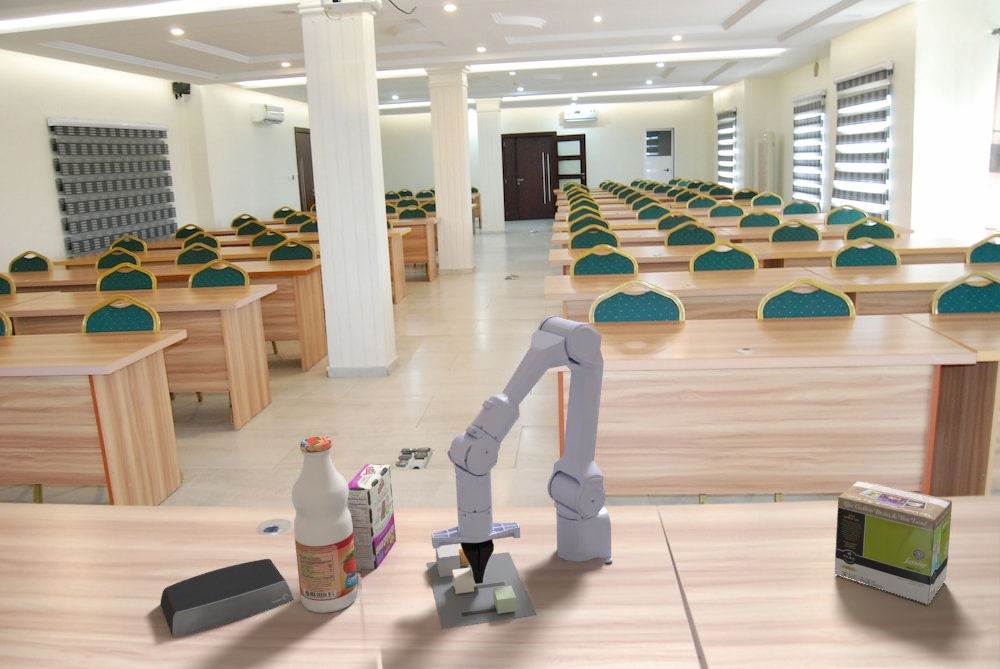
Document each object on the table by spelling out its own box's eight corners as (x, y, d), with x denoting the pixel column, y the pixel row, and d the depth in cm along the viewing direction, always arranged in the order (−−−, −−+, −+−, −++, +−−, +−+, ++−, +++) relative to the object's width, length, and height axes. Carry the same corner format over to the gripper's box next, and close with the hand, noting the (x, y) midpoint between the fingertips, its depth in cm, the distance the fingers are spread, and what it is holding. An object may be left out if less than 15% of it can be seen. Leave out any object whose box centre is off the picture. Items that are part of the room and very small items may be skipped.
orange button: (467, 559, 144) (467, 545, 143) (470, 567, 141) (469, 552, 140) (459, 560, 143) (458, 546, 143) (461, 568, 141) (460, 553, 140)
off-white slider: (470, 580, 137) (469, 567, 136) (473, 591, 133) (473, 578, 133) (452, 582, 136) (452, 569, 136) (455, 593, 133) (455, 580, 132)
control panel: (508, 557, 147) (508, 533, 146) (537, 620, 127) (536, 594, 126) (426, 567, 144) (425, 544, 143) (442, 634, 124) (440, 607, 123)
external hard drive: (295, 604, 135) (293, 582, 134) (173, 643, 125) (169, 619, 124) (274, 572, 146) (272, 551, 145) (159, 605, 136) (156, 583, 135)
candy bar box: (372, 543, 154) (365, 462, 150) (397, 545, 153) (391, 463, 149) (350, 573, 143) (342, 486, 140) (376, 575, 142) (370, 488, 139)
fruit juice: (296, 592, 138) (280, 437, 131) (350, 579, 141) (337, 427, 135) (307, 620, 129) (291, 455, 123) (364, 605, 133) (352, 444, 127)
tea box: (946, 582, 134) (954, 499, 131) (928, 607, 127) (936, 520, 124) (853, 554, 144) (859, 476, 141) (831, 576, 137) (836, 495, 134)
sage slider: (511, 599, 131) (511, 585, 130) (516, 611, 127) (516, 597, 127) (493, 601, 130) (492, 588, 130) (497, 613, 127) (497, 599, 126)
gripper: (512, 490, 137) (515, 563, 140) (427, 500, 135) (432, 574, 138) (522, 507, 131) (524, 583, 134) (432, 518, 128) (437, 596, 131)
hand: (478, 580), depth 135 cm, fingers closed
